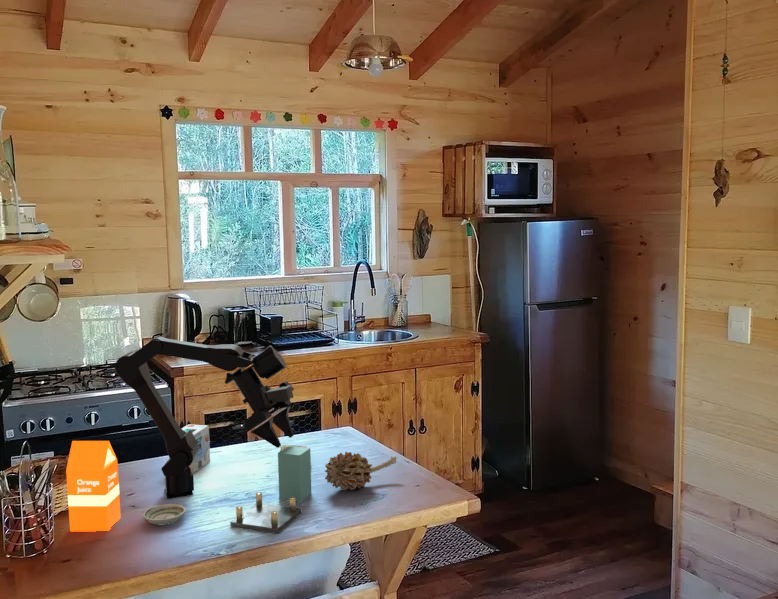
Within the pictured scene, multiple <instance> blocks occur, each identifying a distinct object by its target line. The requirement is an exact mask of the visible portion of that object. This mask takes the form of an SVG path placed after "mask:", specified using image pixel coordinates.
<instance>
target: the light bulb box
mask: <svg viewBox="0 0 778 599" xmlns="http://www.w3.org/2000/svg"><path fill="white" fill-rule="evenodd" d="M181 429H182V430H184V431H185V432H188V431H189V430H191V431H192V433H193V435H194V438H195V439H196V440H197V441H199V443H198V444H197V445H198V447H199V451H198V455H197V456H196V458H195V459H194V460H193V462H192V463H191V465H190V466H189V467H190V469H191V472H192V473H193V474H195V473H196V472H197V471H198V470H200V469H201V468H203V467H204V466H206V465H207V464H208V463H210V462H211V448H210V426H209V425H206V424H187V425H185V426H183V427H182V428H181ZM209 461H210V462H209ZM205 464H206V465H205Z"/></svg>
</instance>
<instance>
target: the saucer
mask: <svg viewBox="0 0 778 599" xmlns="http://www.w3.org/2000/svg"><path fill="white" fill-rule="evenodd" d="M185 513H187V508H186V506H183V505H182V504H177V503H175V504H174V503H166V504H160V505H158V504H157V505H156V506H151V507H149V508H148V509H146V510H145V511H143V513H142V517H143V519H144V520H145V521H147V522H148V523H150V524H155V525H156V524H167V525H169V524H168V523H171V524H173V523H175V522H176V521H178V520H179V519H180V518H181V519H182V517H183V516H184V515H185ZM174 521H175V522H174ZM172 522H173V523H172Z"/></svg>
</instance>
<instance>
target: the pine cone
mask: <svg viewBox="0 0 778 599" xmlns="http://www.w3.org/2000/svg"><path fill="white" fill-rule="evenodd" d="M397 463H398V462H397V456H393V457H392V456H391V457H390V459H388V460H387V461H385V462H383V463H381V464H377V465H376V466H373V464H372V463H371V464H370V463H369V461H368V459H367V457H364V456H362V455H361V454H360V453H359V452H357V453H354V454H352V452H350V451H349V452H348V451H345V452H344V454H343V453H342V452H340V453H339V454H337V455H336V456H335V455H334V456H333V457H329V460H328V463H325V465H324V467H325V468H326V469H325V470H324V472H325V473H326V476H325V477H324V478H325V480H327V481H326V483H327V484H328V483H330V484H332V485H331V486H332V487H335V489H338V487H340V490H341V491H346V490H347V489H349V490H351V491H354V490H355V489H357V488H359V489H360V488H362V487H365V486H366V483H370V482H371V479H372V475H371V474H372V473H374V472H377V471H380V470H382V469H384V468H387V467H389V466H391V465H394V464H397Z"/></svg>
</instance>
